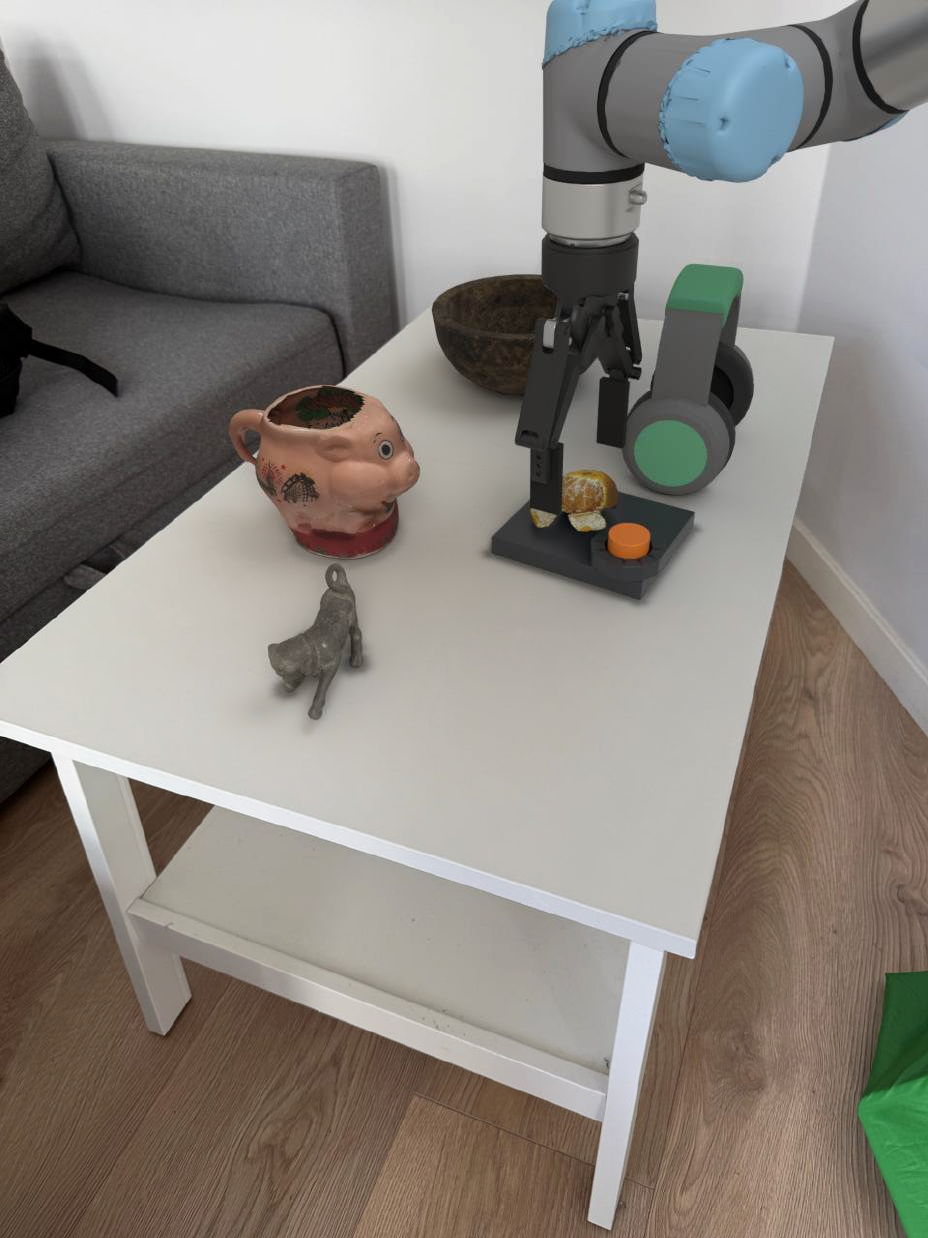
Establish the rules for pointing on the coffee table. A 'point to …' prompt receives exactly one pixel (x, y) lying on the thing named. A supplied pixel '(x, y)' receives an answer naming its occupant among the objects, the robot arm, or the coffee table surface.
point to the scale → (597, 544)
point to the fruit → (583, 500)
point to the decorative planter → (331, 467)
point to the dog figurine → (321, 641)
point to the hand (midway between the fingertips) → (579, 475)
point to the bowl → (493, 328)
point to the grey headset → (692, 386)
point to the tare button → (628, 541)
